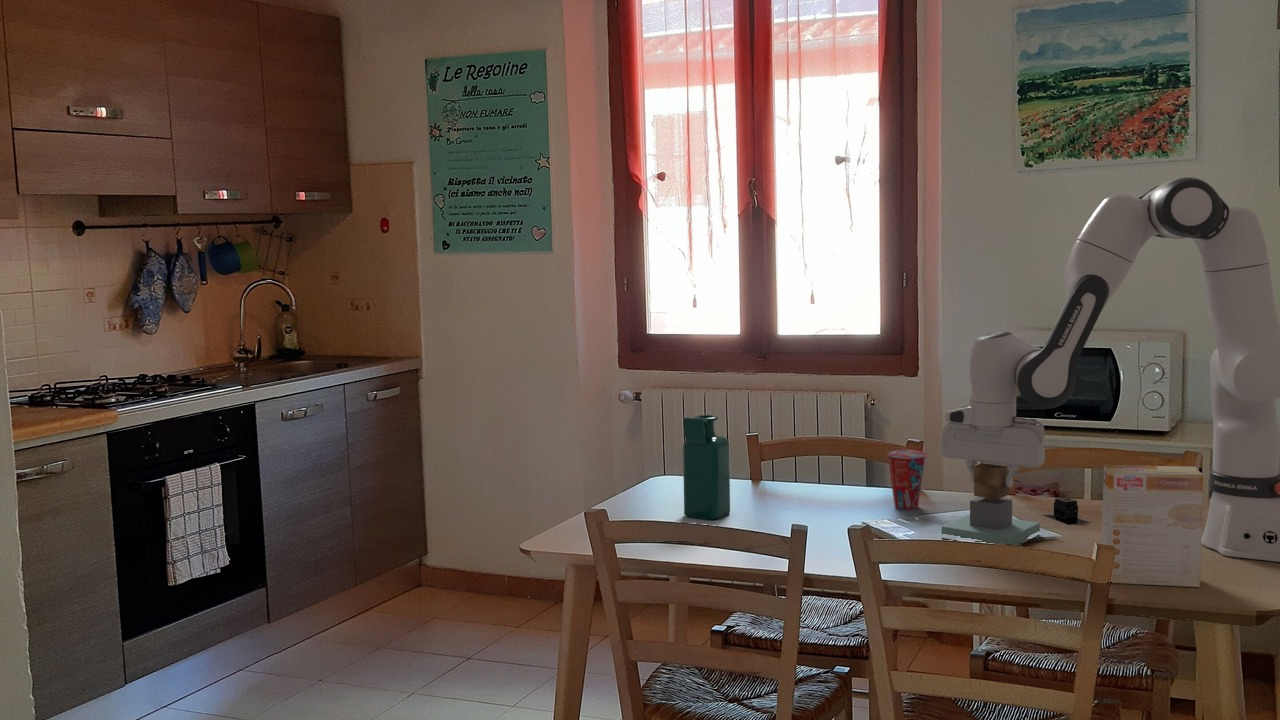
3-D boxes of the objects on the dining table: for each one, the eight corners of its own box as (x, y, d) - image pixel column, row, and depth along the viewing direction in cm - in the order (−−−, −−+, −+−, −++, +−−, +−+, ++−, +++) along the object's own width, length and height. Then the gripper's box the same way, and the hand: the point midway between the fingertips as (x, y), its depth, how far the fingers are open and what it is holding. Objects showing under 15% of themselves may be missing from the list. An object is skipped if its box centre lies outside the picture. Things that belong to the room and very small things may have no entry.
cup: (934, 508, 254) (934, 454, 252) (901, 513, 250) (901, 458, 249) (909, 500, 262) (909, 447, 261) (877, 504, 259) (877, 451, 258)
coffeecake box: (1192, 576, 201) (1195, 465, 199) (1201, 588, 194) (1204, 474, 192) (1100, 571, 205) (1102, 463, 203) (1105, 583, 198) (1108, 471, 196)
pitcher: (699, 508, 258) (697, 411, 256) (733, 512, 254) (732, 413, 251) (677, 518, 250) (676, 417, 247) (712, 522, 245) (711, 420, 243)
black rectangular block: (1099, 526, 238) (1099, 504, 238) (1068, 529, 236) (1069, 507, 236) (1061, 512, 250) (1061, 492, 250) (1032, 515, 248) (1032, 494, 248)
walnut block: (1009, 494, 229) (1009, 464, 228) (998, 499, 225) (998, 468, 224) (985, 491, 232) (985, 461, 231) (974, 495, 228) (974, 465, 228)
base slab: (1039, 535, 230) (1039, 522, 230) (1009, 550, 220) (1009, 537, 219) (973, 524, 239) (973, 512, 239) (941, 538, 229) (941, 526, 229)
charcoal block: (1011, 523, 229) (1012, 499, 229) (998, 530, 225) (999, 504, 224) (983, 519, 233) (983, 495, 233) (969, 525, 229) (970, 500, 228)
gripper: (1051, 417, 222) (1050, 488, 224) (952, 408, 236) (951, 475, 237) (1037, 422, 218) (1036, 494, 219) (937, 412, 231) (937, 481, 233)
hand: (991, 484), depth 228 cm, fingers closed on walnut block, 5 cm apart
